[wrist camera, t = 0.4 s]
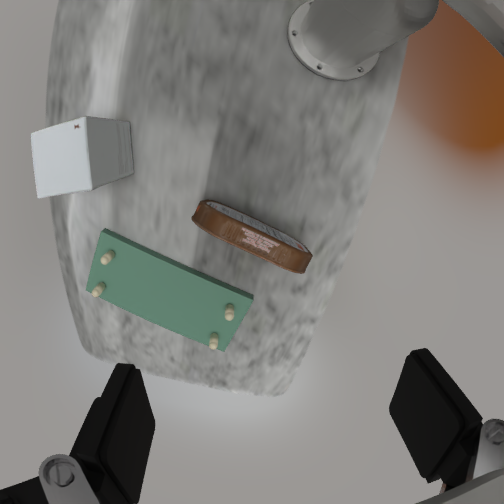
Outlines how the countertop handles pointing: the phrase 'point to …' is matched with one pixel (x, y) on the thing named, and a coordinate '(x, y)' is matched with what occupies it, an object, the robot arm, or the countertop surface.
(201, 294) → the green peg board
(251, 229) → the tin
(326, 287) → the countertop surface
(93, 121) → the supplement box
